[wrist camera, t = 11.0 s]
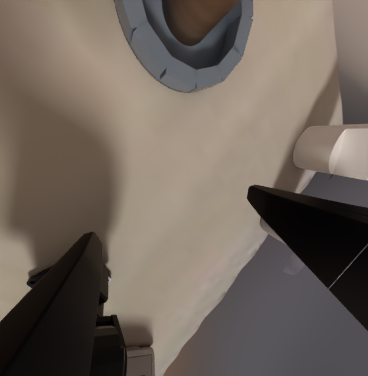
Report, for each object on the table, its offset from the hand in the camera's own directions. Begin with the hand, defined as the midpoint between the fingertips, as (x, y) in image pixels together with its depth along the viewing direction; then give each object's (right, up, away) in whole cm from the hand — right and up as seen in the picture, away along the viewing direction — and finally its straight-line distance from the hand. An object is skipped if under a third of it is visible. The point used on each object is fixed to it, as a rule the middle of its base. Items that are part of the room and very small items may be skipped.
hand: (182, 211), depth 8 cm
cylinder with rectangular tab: (+27, +10, +24) cm, 38 cm away
